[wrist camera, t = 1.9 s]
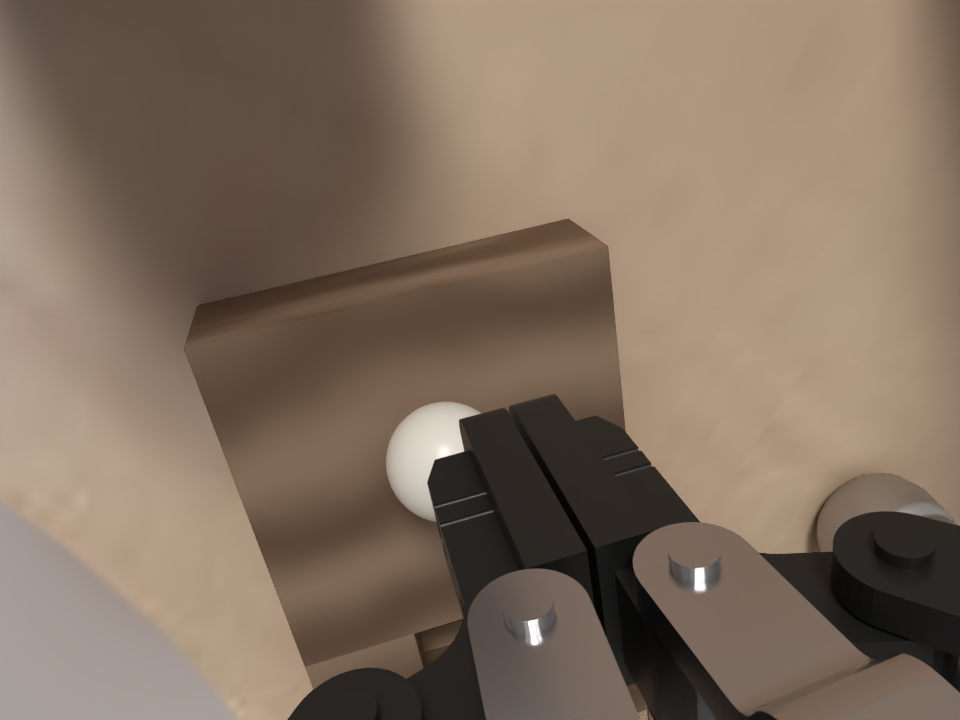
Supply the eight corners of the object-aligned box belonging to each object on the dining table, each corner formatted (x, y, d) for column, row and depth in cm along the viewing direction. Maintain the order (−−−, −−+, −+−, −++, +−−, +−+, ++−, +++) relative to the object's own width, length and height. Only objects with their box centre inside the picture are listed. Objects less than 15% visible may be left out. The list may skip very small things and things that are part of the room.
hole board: (197, 305, 30) (183, 348, 26) (568, 218, 33) (607, 246, 29) (351, 731, 42) (358, 806, 38) (618, 645, 44) (651, 707, 40)
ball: (480, 369, 30) (510, 423, 26) (497, 463, 31) (528, 527, 27) (367, 398, 29) (380, 458, 25) (393, 492, 31) (408, 562, 27)
